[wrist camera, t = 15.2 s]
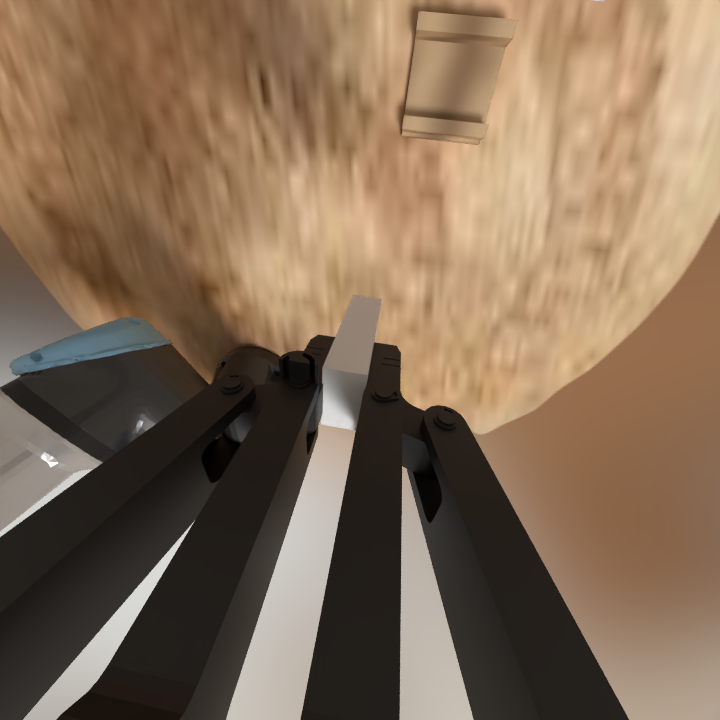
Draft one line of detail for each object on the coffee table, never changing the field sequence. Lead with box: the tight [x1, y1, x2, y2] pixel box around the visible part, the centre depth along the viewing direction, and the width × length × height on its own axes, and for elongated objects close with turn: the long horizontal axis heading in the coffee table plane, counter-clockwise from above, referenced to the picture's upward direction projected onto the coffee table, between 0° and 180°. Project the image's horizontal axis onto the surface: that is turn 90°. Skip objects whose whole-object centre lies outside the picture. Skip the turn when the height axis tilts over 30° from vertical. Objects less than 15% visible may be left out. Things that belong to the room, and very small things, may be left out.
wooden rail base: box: [402, 11, 518, 145], centre depth 25 cm, size 8×8×3 cm
